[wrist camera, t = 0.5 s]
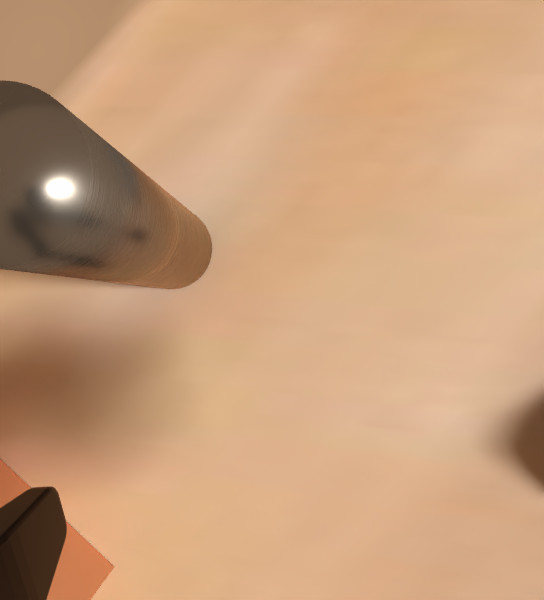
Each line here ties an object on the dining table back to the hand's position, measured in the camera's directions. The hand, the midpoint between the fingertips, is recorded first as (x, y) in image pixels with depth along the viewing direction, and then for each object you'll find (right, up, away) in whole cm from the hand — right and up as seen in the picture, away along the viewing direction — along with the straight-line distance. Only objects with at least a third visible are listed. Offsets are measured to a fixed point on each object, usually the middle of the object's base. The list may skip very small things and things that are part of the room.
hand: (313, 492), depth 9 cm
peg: (-5, +6, +14) cm, 16 cm away
